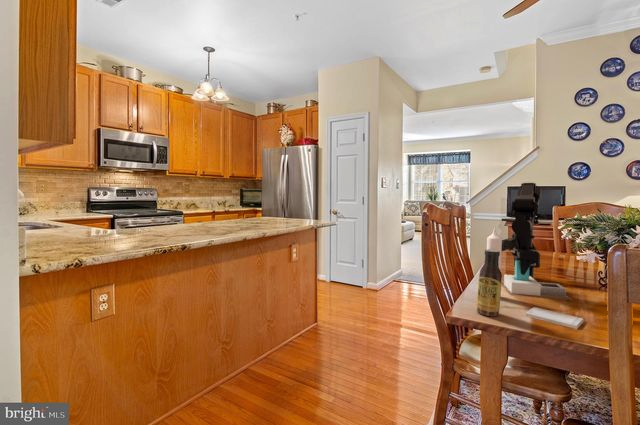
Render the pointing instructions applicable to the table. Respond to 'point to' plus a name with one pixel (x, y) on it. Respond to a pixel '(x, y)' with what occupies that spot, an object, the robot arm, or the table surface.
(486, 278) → the sauce bottle
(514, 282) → the port box
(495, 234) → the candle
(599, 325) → the table surface
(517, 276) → the plug
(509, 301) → the table surface
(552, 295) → the board
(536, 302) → the table surface
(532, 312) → the hard drive
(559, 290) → the holster
